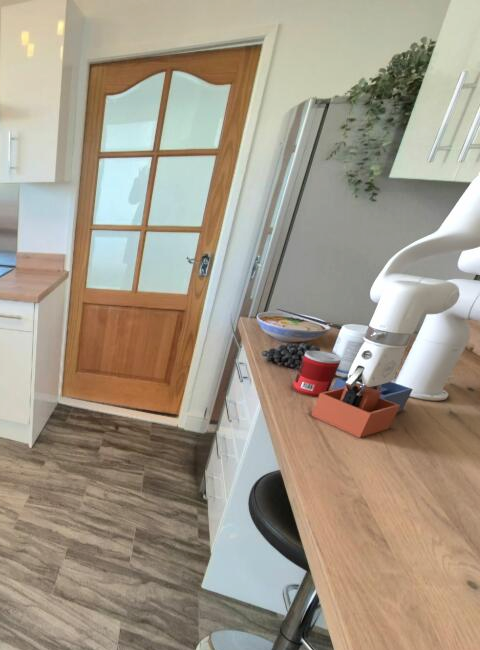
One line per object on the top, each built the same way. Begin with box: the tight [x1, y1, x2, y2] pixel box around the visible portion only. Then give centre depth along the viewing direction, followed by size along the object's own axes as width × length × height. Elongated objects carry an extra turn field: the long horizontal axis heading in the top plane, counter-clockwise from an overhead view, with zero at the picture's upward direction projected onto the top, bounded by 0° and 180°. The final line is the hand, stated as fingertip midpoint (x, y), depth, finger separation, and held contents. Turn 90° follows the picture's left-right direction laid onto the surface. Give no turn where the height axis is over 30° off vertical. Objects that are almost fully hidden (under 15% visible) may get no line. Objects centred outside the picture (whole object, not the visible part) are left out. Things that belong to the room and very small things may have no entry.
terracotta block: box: [340, 384, 382, 411], centre depth 104 cm, size 5×5×5 cm
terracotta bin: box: [310, 387, 400, 439], centre depth 106 cm, size 11×11×6 cm
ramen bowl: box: [256, 308, 343, 344], centre depth 159 cm, size 25×23×8 cm
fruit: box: [261, 342, 321, 371], centre depth 137 cm, size 9×8×15 cm
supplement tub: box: [331, 323, 369, 378], centre depth 130 cm, size 10×10×15 cm
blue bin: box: [331, 376, 413, 413], centre depth 114 cm, size 11×11×6 cm
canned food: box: [293, 350, 341, 398], centre depth 120 cm, size 8×8×11 cm
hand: (356, 405), depth 105 cm, fingers closed on terracotta block, 5 cm apart
